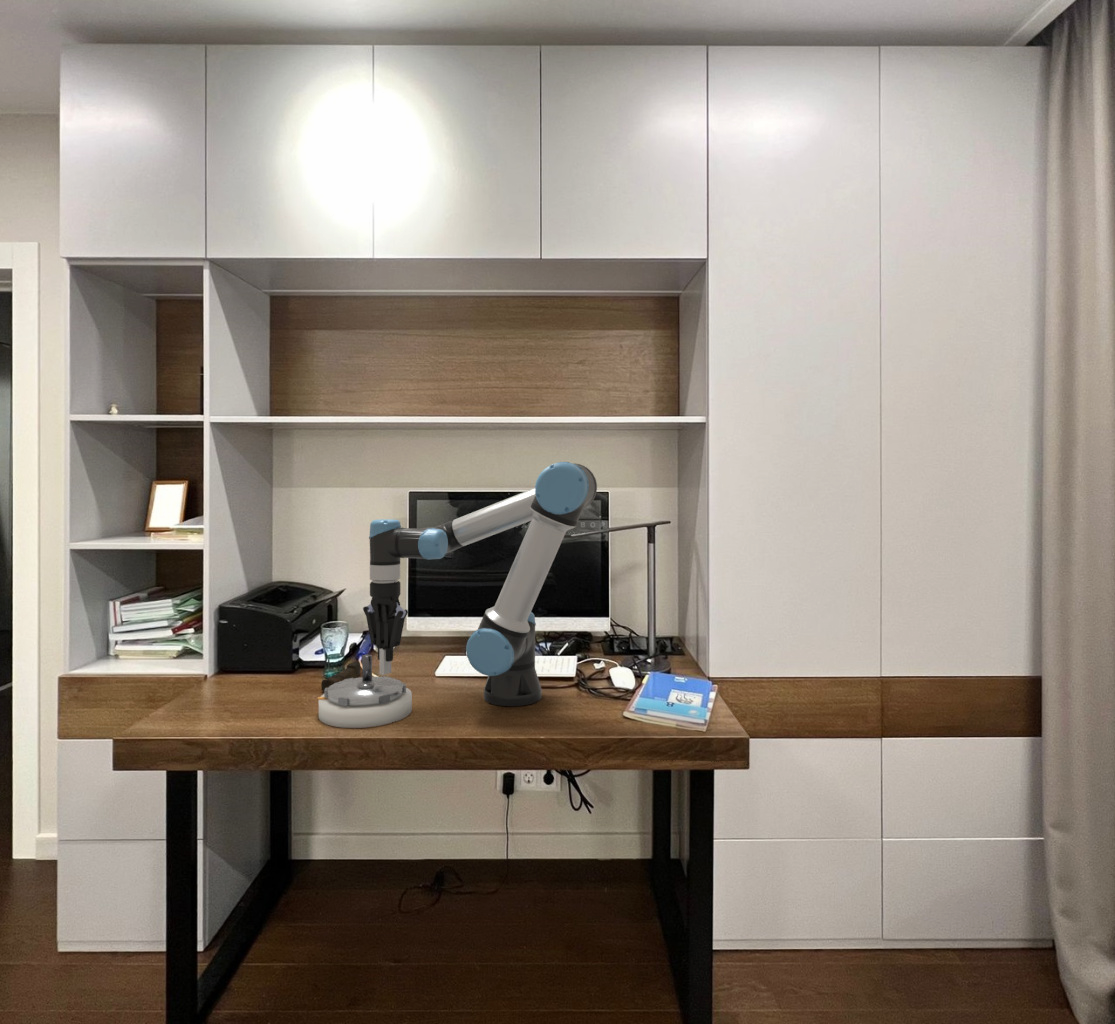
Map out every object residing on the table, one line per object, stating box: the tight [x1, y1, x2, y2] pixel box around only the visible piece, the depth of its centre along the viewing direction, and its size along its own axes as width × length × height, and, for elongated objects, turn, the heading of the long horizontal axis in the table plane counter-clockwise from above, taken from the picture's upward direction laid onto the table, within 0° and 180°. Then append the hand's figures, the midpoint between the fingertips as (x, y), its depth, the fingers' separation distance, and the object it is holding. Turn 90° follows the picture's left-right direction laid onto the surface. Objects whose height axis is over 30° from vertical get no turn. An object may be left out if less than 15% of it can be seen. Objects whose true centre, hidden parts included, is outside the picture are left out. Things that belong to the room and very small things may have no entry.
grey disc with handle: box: [323, 654, 407, 707], centre depth 173 cm, size 18×19×8 cm
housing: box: [317, 687, 413, 729], centre depth 173 cm, size 22×22×4 cm
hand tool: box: [320, 660, 361, 693], centre depth 198 cm, size 19×4×5 cm, turn 167°
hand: (385, 673), depth 179 cm, fingers closed
